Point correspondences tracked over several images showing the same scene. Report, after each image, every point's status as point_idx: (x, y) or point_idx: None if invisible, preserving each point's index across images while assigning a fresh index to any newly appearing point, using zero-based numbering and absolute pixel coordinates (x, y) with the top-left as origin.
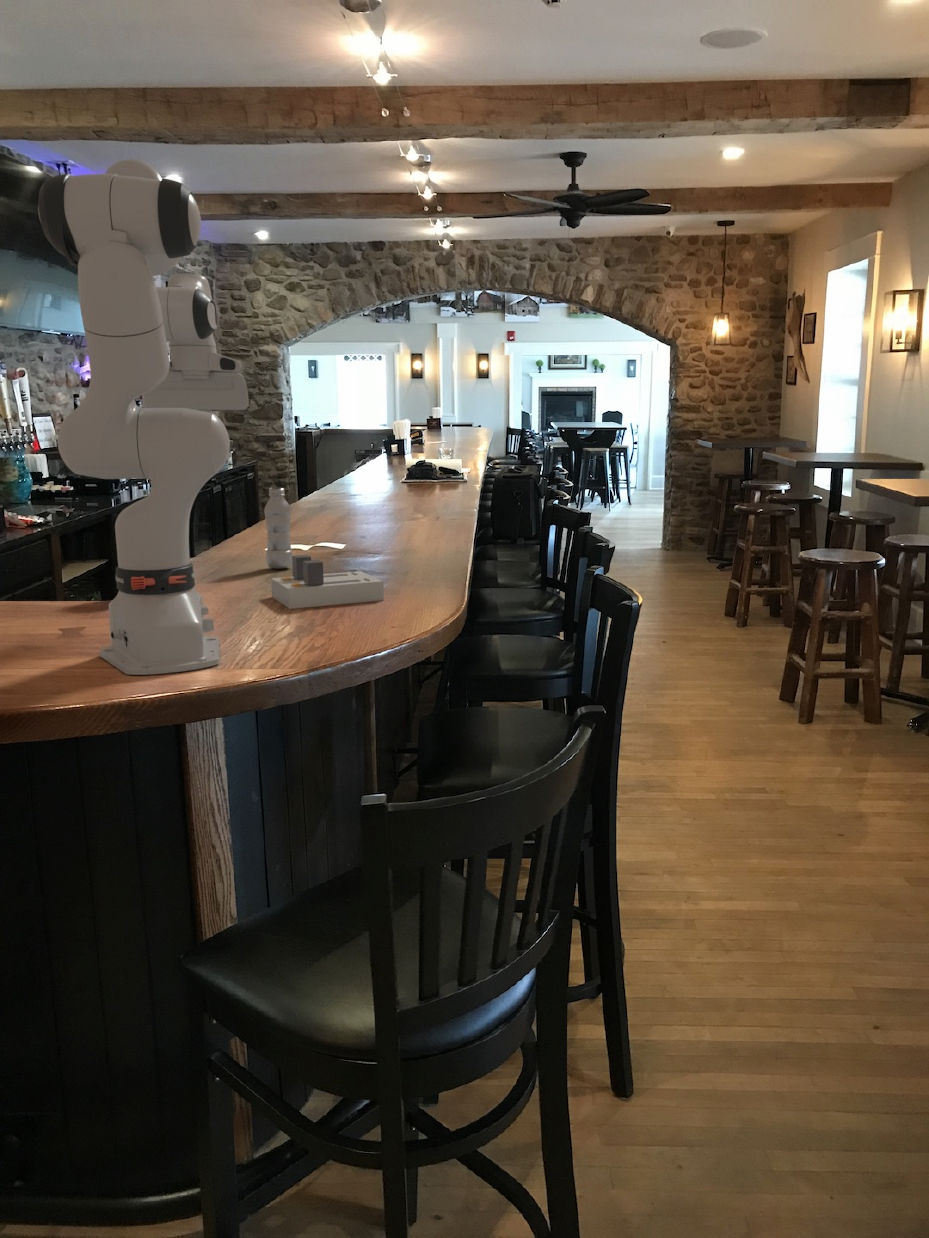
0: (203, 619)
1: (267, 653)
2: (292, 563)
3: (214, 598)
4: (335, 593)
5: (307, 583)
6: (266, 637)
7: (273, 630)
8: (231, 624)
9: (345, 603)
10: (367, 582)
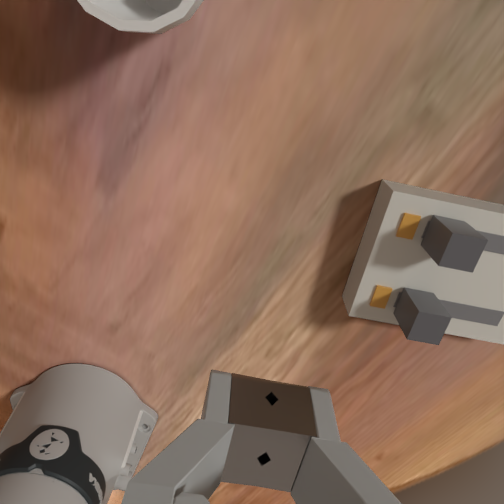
0: (115, 488)
1: None
2: (444, 227)
3: (281, 116)
4: None
5: (395, 310)
6: None
7: None
8: (214, 336)
9: None
10: (495, 341)
